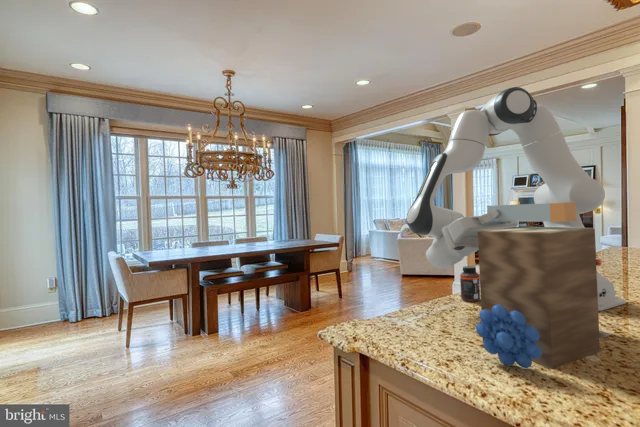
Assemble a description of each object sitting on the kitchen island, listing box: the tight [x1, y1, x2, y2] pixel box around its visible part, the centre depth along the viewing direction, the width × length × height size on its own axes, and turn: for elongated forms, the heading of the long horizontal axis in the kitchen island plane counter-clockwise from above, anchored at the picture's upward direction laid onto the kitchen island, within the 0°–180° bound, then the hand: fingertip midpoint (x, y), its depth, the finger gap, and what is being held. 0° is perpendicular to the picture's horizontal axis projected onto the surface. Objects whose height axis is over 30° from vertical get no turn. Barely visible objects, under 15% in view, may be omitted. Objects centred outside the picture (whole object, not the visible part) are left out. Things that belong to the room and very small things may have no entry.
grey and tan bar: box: [486, 202, 576, 223], centre depth 83 cm, size 19×4×4 cm, turn 25°
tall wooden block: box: [478, 226, 601, 369], centre depth 78 cm, size 16×16×26 cm
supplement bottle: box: [459, 265, 481, 303], centre depth 119 cm, size 6×6×11 cm
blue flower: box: [475, 304, 542, 369], centre depth 69 cm, size 12×7×12 cm, turn 52°
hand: (505, 211), depth 89 cm, fingers closed on grey and tan bar, 4 cm apart
